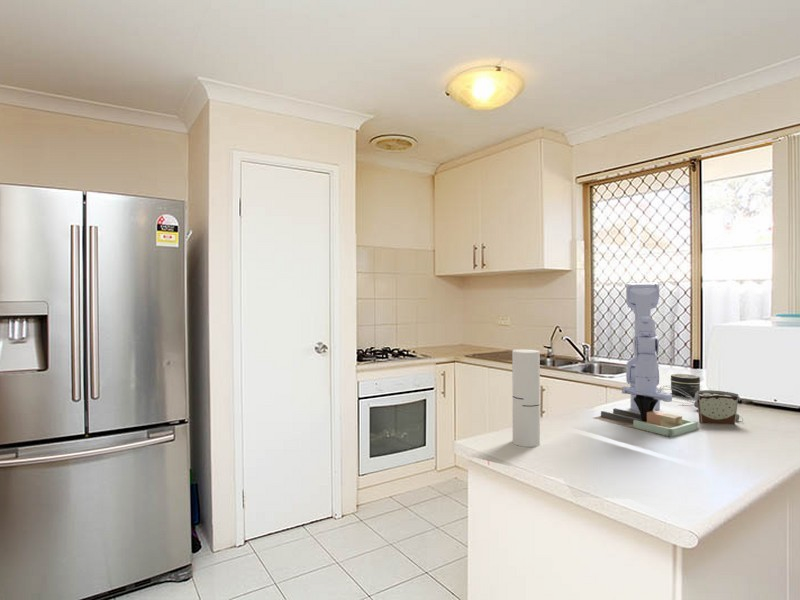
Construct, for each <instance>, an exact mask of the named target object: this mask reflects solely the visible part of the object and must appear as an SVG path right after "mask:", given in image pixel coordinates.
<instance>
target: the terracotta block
mask: <svg viewBox="0 0 800 600" xmlns="http://www.w3.org/2000/svg"><path fill="white" fill-rule="evenodd" d="M667 413H668V412H664V411H659V410H654V411H650V412H647V423H650V424H654V425H658V426H660V415H663V414H667Z"/></svg>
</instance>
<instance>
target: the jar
mask: <svg viewBox="0 0 800 600" xmlns="http://www.w3.org/2000/svg"><path fill="white" fill-rule="evenodd" d="M672 386H674V387H672ZM678 388H679V389H678ZM670 389H672V390H670V391H671V394H672V395H673V396H674V395H675V396H676V395H677V396H678V397H682V396H683V397H682V398H689V395H690V397H691V398H692V397H693V398H695V394H696V392H697V391H701V377H700V376H699V375H695V374H686V373H674V374H671V375H670ZM674 389H675V390H677V391H675V390H674ZM680 389H681V390H680ZM678 391H679V392H678ZM683 391H684V392H683ZM680 392H682V393H684V394H682V393H680ZM685 392H686V393H685ZM685 394H686V396H685ZM688 394H689V395H688ZM687 395H688V397H687ZM677 396H676V397H677Z"/></svg>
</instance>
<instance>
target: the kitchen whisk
mask: <svg viewBox="0 0 800 600" xmlns="http://www.w3.org/2000/svg"><path fill="white" fill-rule="evenodd" d="M665 387H667V388H666V389H663V388H665ZM672 387H674V386H672ZM678 389H679V388H678ZM666 390H668V391H671V390H672V389H671V386H668V385H661V386H660V387H659V392H662V393H666V394H670V395H672V396H673V397H674V398H677V399H679V400H683V401H686V402H685V404H684V403H683V402H680V401H679V403H681V404H682V405H681V404H680V406H682V407H684V406H685V407H694V408H696V409H698V405H697V400H695V399H694V398H695V397H690V395H689V394H688V395H689V397H688V395H687V397H686V398H689V399H691V400H692V401H691V400H689V399H686V398H684V397H682V396H676V395H674V394H673V393H669V392H666ZM674 390H675V389H674ZM680 390H681V389H680ZM675 391H677V390H675ZM678 392H679V391H678ZM683 392H684V391H683ZM680 393H682V392H680ZM685 393H686V392H685ZM682 394H684V393H682ZM685 396H686V394H685ZM674 402H676V403H678V401H676V400H674ZM688 402H689V403H691V404H689V403H688ZM740 418H741V419H742V421H740ZM737 420H738V421H740V423H742V422H744V419H743V417H742V416H740V415H739V414H738V413H736V422H737Z"/></svg>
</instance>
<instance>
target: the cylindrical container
mask: <svg viewBox="0 0 800 600" xmlns="http://www.w3.org/2000/svg"><path fill="white" fill-rule="evenodd" d="M511 353H512V355H511V356H512V357H511V358H512V364H511V365H512V367H511V368H512V373H511V374H512V377H511V378H512V379H511V380H512V386H511V387H512V443H513V444H514V445H516V446H519V447H523V448H536V447H539V446H540V444H541V436H540V435H541V432H540V431H541V429H540V428H541V427H540V426H541V424H540V423H541V420H540V419H541V416H540V415H541V412H540V411H541V410H540V409H541V406H540V405H541V399H540V397H541V395H540V394H541V393H540V391H541V390H540V388H541V381H540V380H541V379H540V378H541V377H540V376H541V375H540V373H541V372H540V370H541V369H540V368H541V367H540V363H541V362H540V361H541V359H540V358H541V357H540V356H541V355H540V354H541V352H540V350H538V349H537V350H536V349H526V348H525V349H512V351H511Z"/></svg>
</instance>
